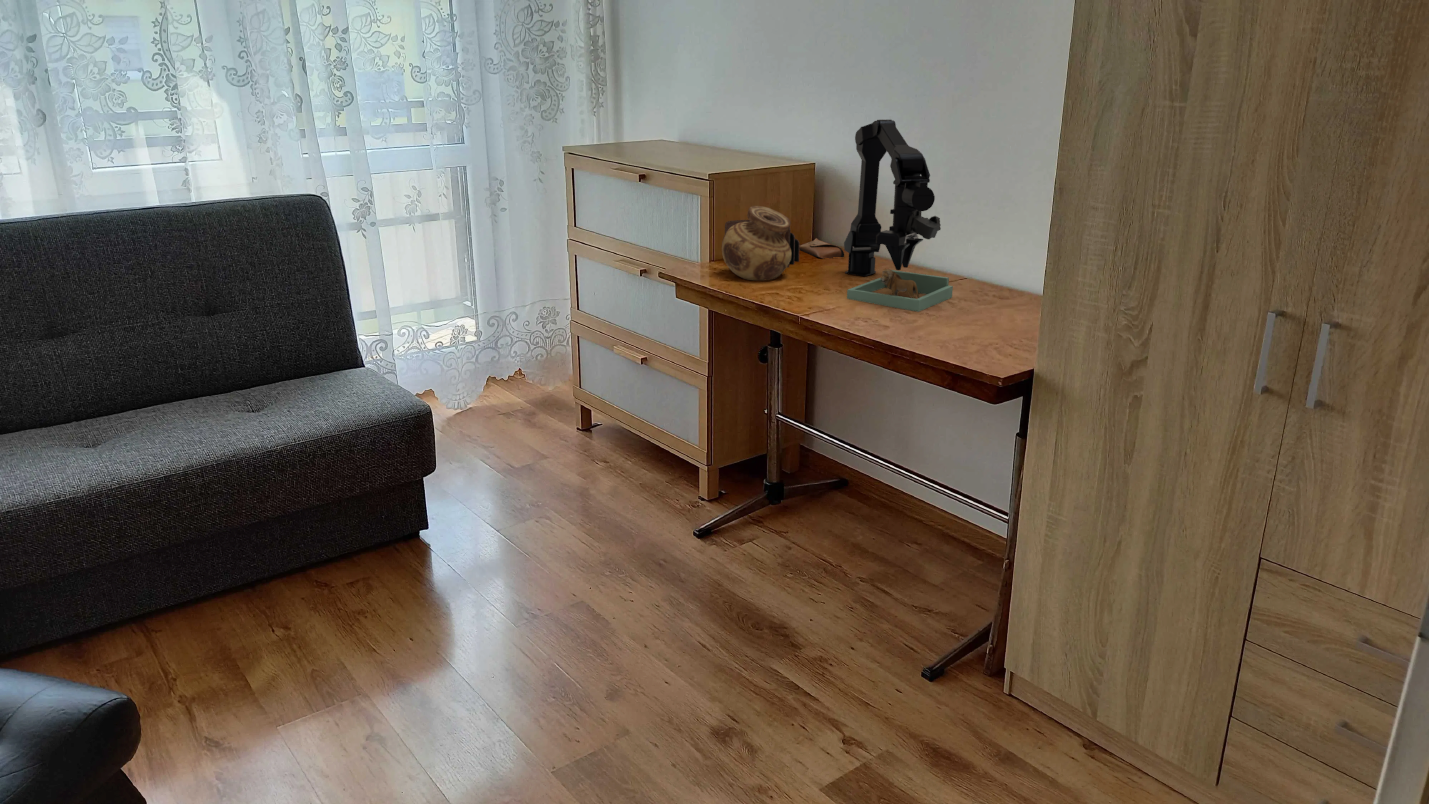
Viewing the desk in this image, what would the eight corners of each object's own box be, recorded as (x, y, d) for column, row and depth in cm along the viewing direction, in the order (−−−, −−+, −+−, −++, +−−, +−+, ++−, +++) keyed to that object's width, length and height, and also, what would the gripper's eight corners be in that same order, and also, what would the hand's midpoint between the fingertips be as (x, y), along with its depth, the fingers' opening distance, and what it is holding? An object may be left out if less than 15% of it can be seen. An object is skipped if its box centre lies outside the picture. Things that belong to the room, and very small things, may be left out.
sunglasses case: (791, 247, 313) (804, 229, 313) (807, 260, 316) (819, 242, 316) (819, 257, 297) (833, 239, 297) (835, 271, 301) (848, 253, 301)
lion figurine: (876, 298, 255) (878, 270, 253) (884, 295, 259) (886, 267, 256) (919, 305, 249) (921, 276, 246) (927, 302, 252) (929, 273, 249)
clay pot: (769, 291, 263) (770, 214, 256) (708, 283, 272) (708, 208, 265) (802, 278, 278) (804, 204, 271) (744, 270, 287) (744, 199, 281)
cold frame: (846, 301, 252) (847, 281, 250) (883, 287, 267) (884, 268, 265) (918, 312, 241) (919, 292, 240) (951, 297, 256) (953, 278, 254)
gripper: (919, 213, 235) (914, 279, 240) (952, 203, 249) (947, 266, 254) (876, 208, 241) (873, 273, 246) (911, 200, 255) (907, 261, 260)
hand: (901, 268), depth 251 cm, fingers open, 3 cm apart
